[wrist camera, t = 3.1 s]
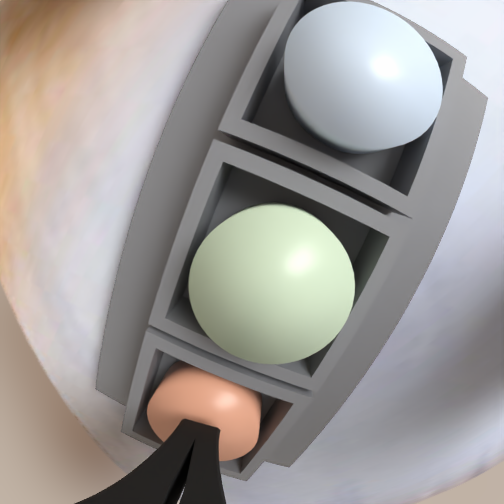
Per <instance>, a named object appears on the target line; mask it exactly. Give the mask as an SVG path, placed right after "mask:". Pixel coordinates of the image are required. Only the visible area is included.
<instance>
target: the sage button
mask: <svg viewBox="0 0 504 504" xmlns="http://www.w3.org/2000/svg"><path fill="white" fill-rule="evenodd" d="M354 294H355V281H354V273H353V269H352V264H351V262H350V259H349V257H348V254H347V252H346V251H345V249H344V247H343V246H342V244H341V243H340V241H339V240H338V239H337V238H336V236H335V235H334V234H333V233H332V232H331V231H330V230H329V229H328V228H327V227H326V226H325V225H324V224H323V223H322V222H321V221H320V220H319V219H318V218H317V217H315V216H314V215H313V214H311V213H310V212H308V211H306V210H304V209H302V208H300V207H297V206H294V205H291V204H286V203H278V202H268V203H261V204H256V205H252V206H249V207H247V208H245V209H242V210H240V211H238V212H237V213H235V214H234V215H232V216H231V217H230V218H228V219H227V220H225V221H224V222H223V223H221V224H220V225H218V226H217V227H216V228H215V229H214V230H213V231H212V232H211V233H210V234H209V235H208V236H207V237H206V238H205V239H204V241H203V242H202V244H201V245H200V247H199V248H198V250H197V252H196V254H195V257H194V259H193V262H192V265H191V268H190V274H189V297H190V302H191V306H192V309H193V312H194V314H195V317H196V319H197V321H198V322H199V324H200V326H201V327H202V329H203V330H204V331H205V333H206V334H207V335H208V336H209V337H210V338H211V339H212V340H213V341H214V342H215V343H216V344H217V345H218V346H220V347H221V348H222V349H224V350H225V351H227V352H228V353H230V354H232V355H234V356H236V357H238V358H241V359H244V360H247V361H250V362H255V363H260V364H284V363H290V362H294V361H298V360H301V359H304V358H306V357H309V356H311V355H312V354H314V353H316V352H318V351H319V350H321V349H322V348H324V347H325V346H326V345H327V344H329V343H330V342H331V341H332V340H333V339H334V338H335V337H336V335H337V334H338V333H339V332H340V330H341V329H342V327H343V326H344V324H345V323H346V321H347V319H348V317H349V314H350V311H351V308H352V305H353V300H354Z"/></svg>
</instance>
